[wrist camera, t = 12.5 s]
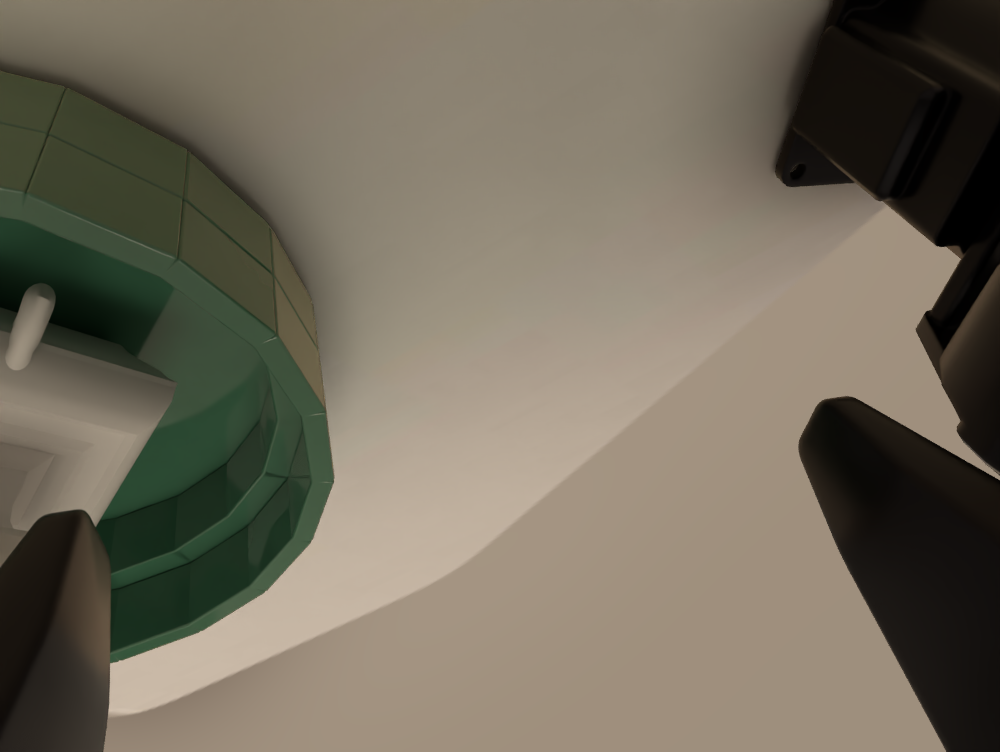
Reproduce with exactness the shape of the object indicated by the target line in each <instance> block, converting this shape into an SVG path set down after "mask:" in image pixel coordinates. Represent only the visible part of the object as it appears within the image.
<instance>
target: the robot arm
mask: <svg viewBox="0 0 1000 752" xmlns="http://www.w3.org/2000/svg"><path fill="white" fill-rule="evenodd" d="M797 164H799V165H798V166H797V168H796V169H795V170H794V171H793V172H791V170H792V169H793V167H795V166H796V165H797ZM775 173H776V176H777V177H778V178H779V179H780V180H781V181H782V182H783V183H784V184H785V185H786V186H789V187H800V186H814V185H828V184H843V183H856V184H858V185H859V186H860V187H861V188H862V189H864V190H865V191H866V192H867V193H868V194H870V195H871V196H872V197H873V198H874V199H876V200H878V201H883V202H884V203H885V204H887V205H888V206H889V207H890V208H891V209H893V210H894V211H895V212H896V213H897V214H899V215H900V216H901V217H902V218H903V219H905V220H906V221H907V222H908V223H909V224H911V225H912V226H913V227H914V228H916V229H917V230H918V231H919V232H920V233H921V234H923V235H924V236H925V237H926V238H928V239H929V240H930V241H931V242H932V243H934V244H935V245H936V246H939V247H947V248H948V249H950V250H951V251H952V252H953V253H955V254H956V255H957V256H958V257H959V258H961V260H960V262H959V264H958V265H957V267H956V269H955V271H954V272H953V274H952V276H951V277H950V279H949V281H948V282H947V284H946V286H945V287H944V290H943V291H942V293H941V294H940V296H939V298H938V299H937V301H936V303H935V305H934V306H933V308H932V310H929V311H926V313H925V314H924V316H923V318H922V319H921V321H920V323H919V324H918V326H917V328H916V332H917V334H918V336H919V338H920V340H921V342H922V344H923V346H924V348H925V350H926V352H927V354H928V356H929V358H930V360H931V362H932V364H933V366H934V368H935V370H936V372H937V374H938V376H939V378H940V380H941V383H942V386H943V388H944V390H945V392H946V394H947V395H948V397H949V399H950V401H951V402H952V404H953V406H954V408H955V410H956V412H957V414H958V416H959V418H960V423H959V424H958V426H957V432H958V434H959V436H960V437H961V439H962V441H963V442H964V443H965V444H966V445H967V446H968V447H969V448H970V449H971V450H972V451H973V452H974V453H975V454H976V455H977V456H978V457H979V458H980V459H981V460H982V461H983V462H984V463H985V464H986V465H987V466H989V467H990V468H991V469H993V470H994V471H995V472H996V473H998V474H999V475H1000V0H834V2H833V5H832V8H831V11H830V14H829V17H828V19H827V22H826V25H825V28H824V31H823V34H822V37H821V39H820V42H819V45H818V48H817V51H816V54H815V56H814V59H813V62H812V65H811V68H810V71H809V74H808V76H807V79H806V82H805V85H804V88H803V91H802V94H801V96H800V99H799V102H798V105H797V108H796V111H795V114H794V116H793V119H792V122H791V125H790V128H789V131H788V134H787V136H786V139H785V142H784V145H783V148H782V151H781V154H780V156H779V159H778V162H777V165H776V170H775ZM799 454H800V458H801V461H802V463H803V465H804V468H805V470H806V473H807V475H808V478H809V480H810V483H811V485H812V487H813V490H814V492H815V495H816V497H817V499H818V502H819V504H820V507H821V509H822V512H823V514H824V516H825V518H826V521H827V524H828V526H829V529H830V531H831V533H832V536H833V538H834V540H835V543H836V545H837V547H838V549H839V552H840V554H841V556H842V558H843V560H844V562H845V564H846V566H847V568H848V570H849V572H850V574H851V575H852V577H853V579H854V581H855V583H856V584H857V587H858V588H859V590H860V592H861V594H862V596H863V597H864V599H865V601H866V603H867V605H868V607H869V609H870V611H871V613H872V614H873V616H874V618H875V620H876V621H877V624H878V626H879V627H880V629H881V631H882V633H883V635H884V637H885V639H886V640H887V642H888V644H889V646H890V648H891V650H892V652H893V653H894V655H895V657H896V659H897V661H898V662H899V664H900V666H901V668H902V670H903V671H904V674H905V676H906V678H907V679H908V681H909V683H910V685H911V687H912V689H913V691H914V692H915V694H916V696H917V698H918V700H919V702H920V703H921V705H922V707H923V709H924V711H925V713H926V714H927V716H928V718H929V720H930V722H931V724H932V725H933V727H934V729H935V731H936V733H937V735H938V737H939V739H940V741H941V742H942V744H943V746H944V748H945V750H946V752H1000V480H998V479H996V478H995V477H993V476H991V475H989V474H987V473H986V472H984V471H982V470H981V469H979V468H977V467H975V466H974V465H972V464H970V463H968V462H966V461H965V460H963V459H961V458H960V457H958V456H956V455H954V454H952V453H951V452H949V451H947V450H946V449H944V448H942V447H940V446H939V445H937V444H935V443H933V442H932V441H930V440H928V439H926V438H925V437H923V436H921V435H919V434H918V433H916V432H914V431H912V430H911V429H909V428H907V427H905V426H904V425H901V424H900V423H898V422H897V421H895V420H893V419H891V418H890V417H888V416H886V415H884V414H883V413H881V412H879V411H877V410H876V409H874V408H872V407H870V406H869V405H867V404H865V403H863V402H862V401H860V400H858V399H856V398H853V397H849V396H845V397H837V398H830V399H825V400H822V401H821V402H820V403H819V404H818V405H817V406H816V408H815V410H814V412H813V414H812V416H811V418H810V420H809V422H808V424H807V425H806V428H805V429H804V431H803V433H802V435H801V437H800V440H799ZM110 619H111V565H110V558H109V555H108V552H107V549H106V547H105V545H104V543H103V541H102V539H101V537H100V535H99V533H98V531H97V529H96V527H95V525H94V523H93V521H92V519H91V517H90V516H89V514H88V513H87V512H86V511H84V510H82V509H75V510H68V511H62V512H55V513H49V514H45V515H43V516H42V517H40V518H39V519H38V520H37V521H36V522H35V523H34V524H33V525H32V527H31V528H30V529H29V531H28V532H27V533H26V534H25V536H24V537H23V538H22V540H21V541H20V542H19V543H18V545H17V546H16V547H15V549H14V550H13V551H12V552H11V554H10V555H9V556H8V558H7V559H6V560H5V561H4V563H3V564H2V565H1V567H0V752H103V749H104V742H105V735H106V728H107V719H108V709H109V689H110Z"/></svg>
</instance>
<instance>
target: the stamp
mask: <svg viewBox="0 0 1000 752" xmlns="http://www.w3.org/2000/svg"><path fill="white" fill-rule="evenodd" d="M55 298H56V296H55V293H54V290H53V289H52V288H51V287H50V286H49V285H47V284H43V283H38V284H34V285H32V286H31V287H29V288H28V289H27V291H26V292H25V294H24V296H23V299H22V302H21V305H20V308H19V311H18V313H16V312H13V311H10V310H7V309H4V308H0V567H1V565H2V564H3V563H4V561H5V560H6V559H7V558H8V556H9V555H10V554H11V552H12V551H13V550H14V549H15V547H16V546H17V545H18V543H19V542H20V541H21V540H22V538H23V537H24V536H25V534H26V533H27V532H28V531H29V529H30V528H31V527H32V525H33V524H34V523H35V522H36V521H37V520H38V519H39V518H40V517H42V516H43V515H45V514H49V513H55V512H62V511H68V510H75V509H82V510H84V511H86V512H87V513H88V514H89V516H90V517H91V519H92V521H93V523H94V525H95V527H96V526H97V524H98V522H99V521H100V519H101V517H102V516H103V514H104V512H105V511H106V509H107V507H108V506H109V504H110V502H111V501H112V499H113V497H114V496H115V494H116V492H117V491H118V489H119V488H120V486H121V484H122V483H123V481H124V479H125V478H126V476H127V474H128V473H129V471H130V469H131V468H132V466H133V464H134V463H135V461H136V459H137V458H138V456H139V454H140V453H141V451H142V449H143V448H144V446H145V445H146V443H147V441H148V440H149V438H150V436H151V435H152V433H153V431H154V430H155V428H156V426H157V425H158V423H159V421H160V420H161V418H162V416H163V415H164V413H165V411H166V410H167V408H168V406H169V405H170V403H171V402H172V399H173V395H174V391H175V388H176V386H177V382H175V381H173V380H172V379H169V378H167V377H166V376H165V375H164V374H163V373H162V372H161V371H160V370H158V369H156V368H154V367H152V366H151V365H149V364H147V363H145V362H144V361H142V360H140V359H138V358H137V357H135V356H133V355H131V354H130V353H128V352H127V351H126V350H125V349H124V348H123V346H122V345H119V344H116V343H113V342H110V341H106V340H103V339H100V338H97V337H93V336H90V335H87V334H84V333H81V332H77V331H74V330H71V329H68V328H65V327H61V326H58V325H55V324H52V323H49V319H50V317H51V314H52V312H53V309H54V305H55Z"/></svg>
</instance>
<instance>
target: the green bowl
mask: <svg viewBox="0 0 1000 752" xmlns="http://www.w3.org/2000/svg"><path fill="white" fill-rule="evenodd" d="M38 283H43V284H47V285H49V286H50V287H51V288H52V289H53V290H54V293H55V296H56V298H55V305H54V309H53V312H52V314H51V317H50V319H49V323H52V324H55V325H58V326H61V327H65V328H68V329H71V330H74V331H77V332H81V333H84V334H87V335H90V336H93V337H97V338H100V339H103V340H106V341H110V342H113V343H116V344H119V345H122V346H123V348H124V349H125V350H126V351H127V352H128V353H130V354H131V355H133V356H135V357H137V358H138V359H140V360H142V361H144V362H145V363H147V364H149V365H151V366H152V367H154V368H156V369H158V370H160V371H161V372H162V373H163V374H164V375H165V376H166V377H167V378H169V379H172V380H173V381H175V382H177V386H176V388H175V391H174V395H173V399H172V402H171V403H170V405H169V406H168V408H167V410H166V411H165V413H164V415H163V416H162V418H161V420H160V421H159V423H158V425H157V426H156V428H155V430H154V431H153V433H152V435H151V436H150V438H149V440H148V441H147V443H146V445H145V446H144V448H143V449H142V451H141V453H140V454H139V456H138V458H137V459H136V461H135V463H134V464H133V466H132V468H131V469H130V471H129V473H128V474H127V476H126V478H125V479H124V481H123V483H122V484H121V486H120V488H119V489H118V491H117V492H116V494H115V496H114V497H113V499H112V501H111V502H110V504H109V506H108V507H107V509H106V511H105V512H104V514H103V516H102V517H101V519H100V521H99V522H98V524H97V526H96V529H97V531H98V533H99V535H100V537H101V539H102V541H103V543H104V545H105V547H106V549H107V552H108V555H109V558H110V565H111V619H110V663H114V662H118V661H119V660H125V659H127V658H130V657H133V656H136V655H138V654H141V653H144V652H147V651H149V650H152V649H155V648H158V647H160V646H163V645H166V644H169V643H171V642H174V641H177V640H180V639H182V638H185V637H188V636H191V635H193V634H196V633H199V632H200V631H203V630H205V629H206V628H208V627H210V626H211V625H213V624H214V623H216V622H218V621H219V620H221V619H223V618H224V617H226V616H227V615H229V614H231V613H232V612H234V611H235V610H237V609H239V608H240V607H242V606H244V605H245V604H247V603H248V602H250V601H252V600H253V599H255V598H257V597H258V596H260V595H261V594H263V593H264V592H265V591H267V590H268V589H269V588H270V587H271V586H272V585H273V584H274V582H275V581H276V580H277V579H278V578H279V577H280V576H281V575H282V574H283V573H284V571H285V570H286V569H287V568H288V567H289V566H290V565H291V564H292V563H293V562H294V561H295V559H296V558H297V557H298V556H299V555H300V554H301V553H302V552H303V551H304V550H305V548H306V547H307V546H308V545H309V544H310V543H311V541H312V540H313V537H314V535H315V532H316V529H317V526H318V524H319V521H320V518H321V516H322V513H323V510H324V507H325V505H326V502H327V499H328V497H329V494H330V491H331V488H332V486H333V483H334V469H333V461H332V453H331V445H330V437H329V429H328V420H327V412H326V404H325V396H324V388H323V380H322V372H321V364H320V356H319V348H318V340H317V332H316V324H315V316H314V309H313V304H312V302H311V298H310V296H309V294H308V292H307V291H306V289H305V287H304V285H303V283H302V282H301V280H300V278H299V276H298V274H297V273H296V271H295V269H294V267H293V266H292V264H291V262H290V260H289V258H288V257H287V255H286V253H285V251H284V249H283V248H282V246H281V244H280V242H279V241H278V239H277V237H276V235H275V233H274V232H273V230H272V229H271V228H270V227H269V224H268V223H267V222H266V221H265V220H264V219H262V218H261V217H260V216H259V215H258V214H257V213H256V212H255V211H254V210H253V209H252V208H250V207H249V206H248V205H247V204H246V203H245V202H244V201H243V200H242V199H241V198H240V197H238V196H237V195H236V194H235V193H234V192H233V191H232V190H231V189H230V188H229V187H228V186H226V185H225V184H224V183H223V182H222V181H221V180H220V179H219V178H218V177H217V176H216V175H214V174H213V173H212V172H211V171H210V170H209V169H208V168H207V167H206V166H205V165H204V164H202V163H201V162H200V161H199V160H198V159H197V158H196V157H195V156H194V155H193V154H192V153H190V152H188V150H187V149H185V148H183V147H181V146H179V145H177V144H176V143H174V142H172V141H170V140H168V139H166V138H164V137H162V136H160V135H158V134H156V133H154V132H152V131H151V130H149V129H147V128H145V127H143V126H141V125H139V124H137V123H135V122H133V121H131V120H129V119H127V118H126V117H124V116H122V115H120V114H118V113H116V112H114V111H112V110H110V109H108V108H106V107H104V106H102V105H101V104H99V103H97V102H95V101H93V100H91V99H89V98H87V97H85V96H83V95H81V94H79V93H77V92H76V91H74V90H72V89H70V88H66V89H65V87H63V86H60V85H56V84H52V83H48V82H44V81H40V80H36V79H32V78H27V77H23V76H19V75H15V74H11V73H7V72H3V71H0V308H4V309H7V310H10V311H13V312H16V313H18V311H19V308H20V305H21V302H22V299H23V296H24V294H25V292H26V291H27V289H28V288H29V287H31V286H32V285H34V284H38Z"/></svg>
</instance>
